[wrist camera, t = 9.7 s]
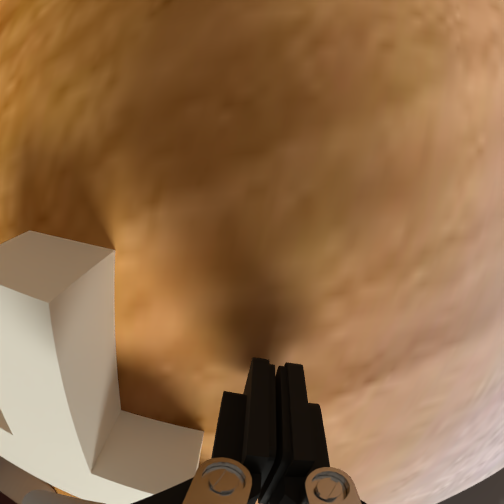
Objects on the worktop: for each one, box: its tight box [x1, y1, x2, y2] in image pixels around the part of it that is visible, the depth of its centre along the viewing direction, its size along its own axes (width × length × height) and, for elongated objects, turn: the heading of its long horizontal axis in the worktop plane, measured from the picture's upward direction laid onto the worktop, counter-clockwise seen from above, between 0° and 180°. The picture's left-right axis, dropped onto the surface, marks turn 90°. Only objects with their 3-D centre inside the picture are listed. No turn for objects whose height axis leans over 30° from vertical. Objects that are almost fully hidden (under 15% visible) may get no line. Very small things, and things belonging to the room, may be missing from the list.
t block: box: [0, 230, 204, 504], centre depth 10 cm, size 12×12×4 cm
